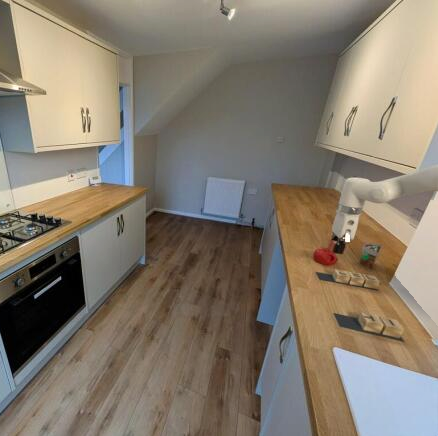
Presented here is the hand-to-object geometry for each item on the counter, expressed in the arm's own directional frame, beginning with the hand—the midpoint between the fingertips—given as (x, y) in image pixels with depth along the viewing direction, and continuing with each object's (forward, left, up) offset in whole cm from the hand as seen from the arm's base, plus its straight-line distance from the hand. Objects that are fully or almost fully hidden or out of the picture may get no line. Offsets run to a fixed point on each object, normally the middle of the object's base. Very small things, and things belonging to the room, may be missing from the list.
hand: (335, 250), depth 100 cm
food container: (-23, -24, -15) cm, 36 cm away
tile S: (0, 0, 0) cm, 0 cm away
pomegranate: (-4, -18, -15) cm, 24 cm away
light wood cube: (-16, -2, -15) cm, 21 cm away
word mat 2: (-5, +27, -15) cm, 31 cm away
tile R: (-6, -2, -15) cm, 16 cm away
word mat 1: (-8, -2, -15) cm, 17 cm away
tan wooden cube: (-5, +27, -15) cm, 31 cm away
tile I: (-10, +27, -15) cm, 32 cm away
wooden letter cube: (-11, -2, -15) cm, 18 cm away
